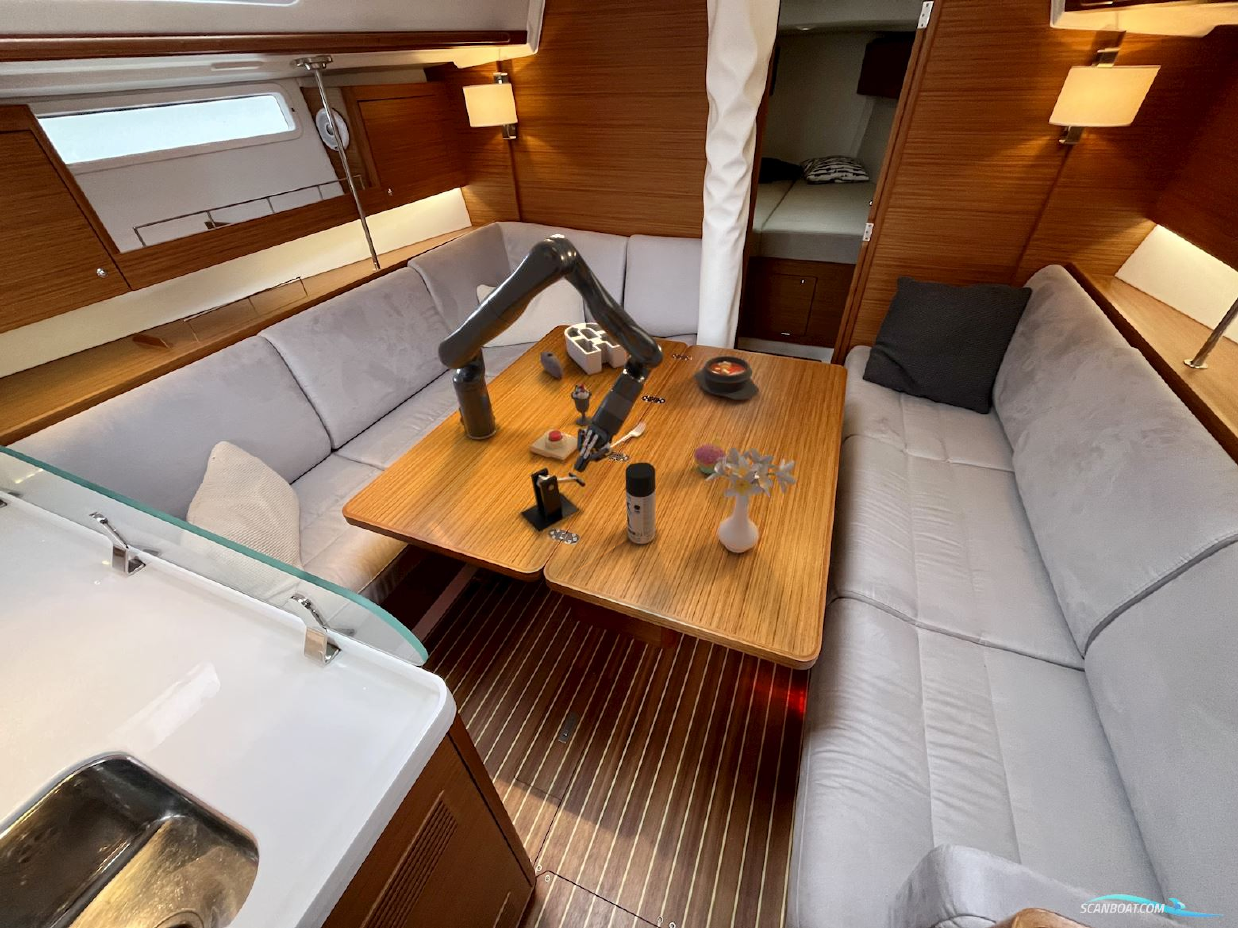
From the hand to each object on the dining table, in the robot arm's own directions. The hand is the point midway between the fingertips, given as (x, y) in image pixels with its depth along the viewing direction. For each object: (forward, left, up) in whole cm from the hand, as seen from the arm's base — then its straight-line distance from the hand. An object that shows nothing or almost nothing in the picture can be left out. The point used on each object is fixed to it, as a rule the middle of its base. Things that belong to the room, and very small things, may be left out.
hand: (577, 470), depth 126 cm
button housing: (-19, +15, -9) cm, 26 cm away
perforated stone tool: (-49, +53, -9) cm, 73 cm away
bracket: (-3, -9, -9) cm, 13 cm away
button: (-19, +15, -6) cm, 25 cm away
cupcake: (+25, +27, -9) cm, 38 cm away
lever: (-2, -6, -1) cm, 6 cm away
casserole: (+12, +72, -9) cm, 73 cm away
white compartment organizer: (-44, +72, -9) cm, 85 cm away
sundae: (-20, +31, -9) cm, 38 cm away
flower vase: (+42, +5, -9) cm, 43 cm away
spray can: (+21, -4, -9) cm, 23 cm away
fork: (-3, +27, -9) cm, 29 cm away
